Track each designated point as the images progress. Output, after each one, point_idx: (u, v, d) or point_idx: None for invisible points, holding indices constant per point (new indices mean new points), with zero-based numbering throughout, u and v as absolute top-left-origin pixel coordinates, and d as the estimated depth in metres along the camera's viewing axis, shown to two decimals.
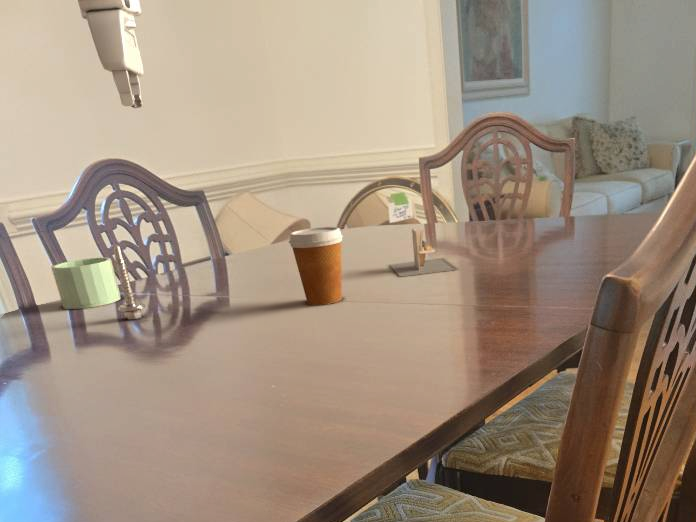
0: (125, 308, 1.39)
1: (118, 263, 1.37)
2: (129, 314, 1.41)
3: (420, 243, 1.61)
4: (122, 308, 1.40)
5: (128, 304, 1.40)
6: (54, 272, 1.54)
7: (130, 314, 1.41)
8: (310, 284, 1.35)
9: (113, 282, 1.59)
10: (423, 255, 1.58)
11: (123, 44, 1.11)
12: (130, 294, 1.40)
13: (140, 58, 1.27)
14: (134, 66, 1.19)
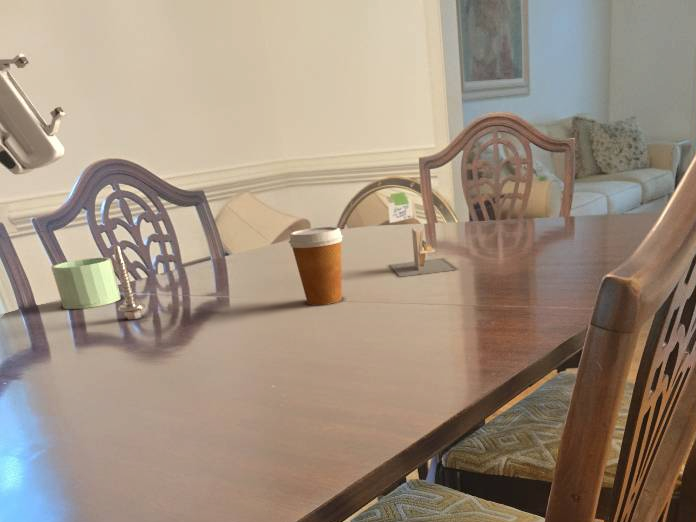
0: (125, 308, 1.39)
1: (118, 263, 1.37)
2: (129, 314, 1.41)
3: (420, 243, 1.61)
4: (122, 308, 1.40)
5: (128, 304, 1.40)
6: (54, 272, 1.54)
7: (130, 314, 1.41)
8: (310, 284, 1.35)
9: (113, 282, 1.59)
10: (423, 255, 1.58)
11: (47, 161, 1.42)
12: (130, 294, 1.40)
13: None
14: (24, 112, 1.38)
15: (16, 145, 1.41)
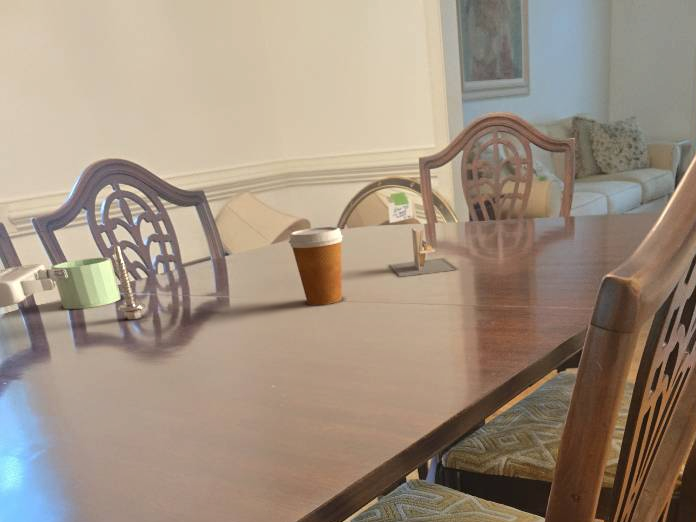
0: (125, 308, 1.39)
1: (118, 263, 1.37)
2: (129, 314, 1.41)
3: (420, 243, 1.61)
4: (122, 308, 1.40)
5: (128, 304, 1.40)
6: None
7: (130, 314, 1.41)
8: (310, 284, 1.35)
9: (113, 282, 1.59)
10: (423, 255, 1.58)
11: None
12: (130, 294, 1.40)
13: (29, 265, 1.44)
14: (23, 273, 1.35)
15: None
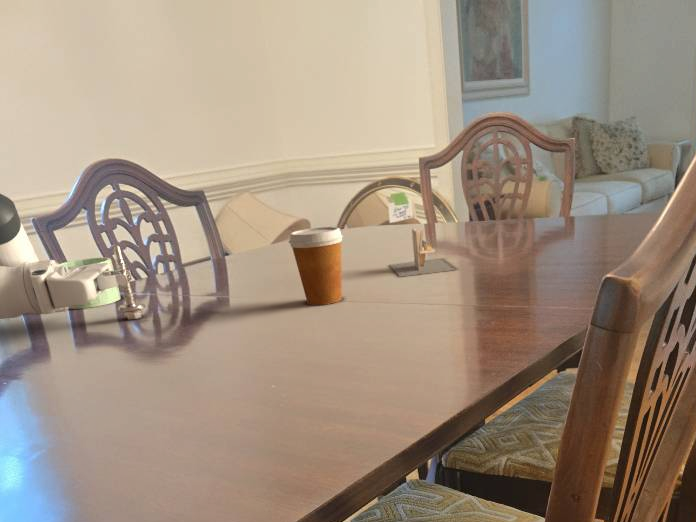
0: (125, 308, 1.39)
1: (118, 263, 1.37)
2: (129, 314, 1.41)
3: (420, 243, 1.61)
4: (122, 308, 1.40)
5: (128, 304, 1.40)
6: None
7: (130, 314, 1.41)
8: (310, 284, 1.35)
9: None
10: (423, 255, 1.58)
11: (70, 280, 1.29)
12: (130, 294, 1.40)
13: (95, 264, 1.45)
14: (94, 272, 1.36)
15: (59, 277, 1.33)
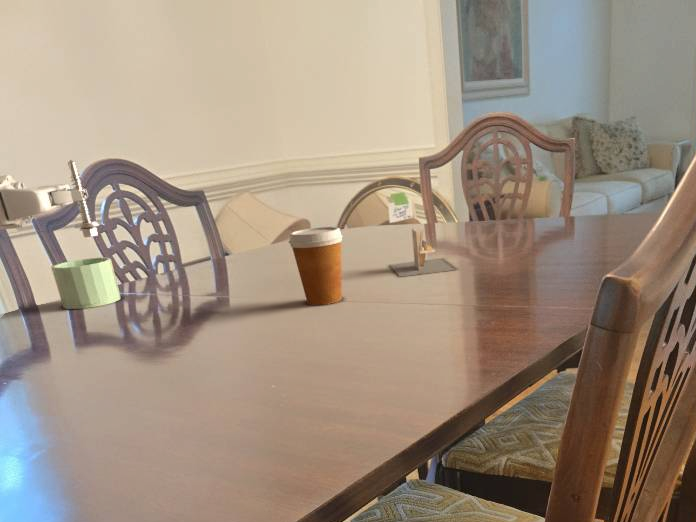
0: (81, 225, 1.42)
1: (74, 179, 1.40)
2: (85, 231, 1.44)
3: (420, 243, 1.61)
4: (78, 225, 1.42)
5: (84, 221, 1.43)
6: (54, 272, 1.54)
7: (86, 231, 1.44)
8: (310, 284, 1.35)
9: (113, 282, 1.59)
10: (423, 255, 1.58)
11: (23, 190, 1.32)
12: (86, 211, 1.42)
13: None
14: (49, 187, 1.39)
15: None
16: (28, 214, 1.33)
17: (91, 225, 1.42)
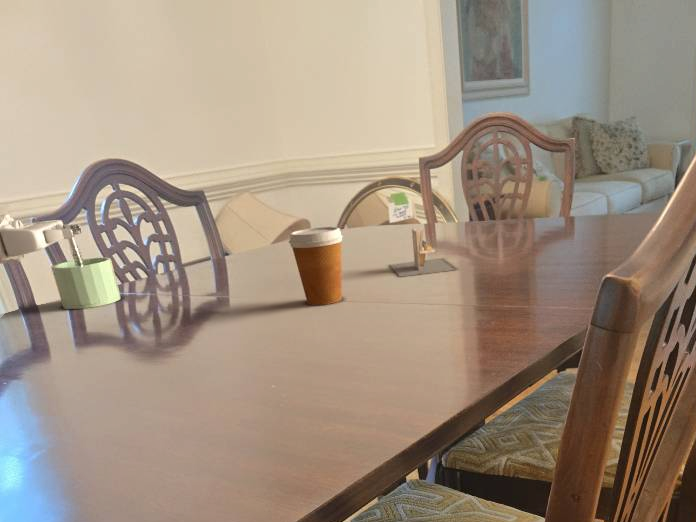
0: None
1: (74, 251, 1.55)
2: None
3: (420, 243, 1.61)
4: None
5: None
6: (54, 272, 1.54)
7: None
8: (310, 284, 1.35)
9: (113, 282, 1.59)
10: (423, 255, 1.58)
11: (21, 230, 1.44)
12: None
13: (48, 221, 1.60)
14: (44, 225, 1.52)
15: (12, 228, 1.48)
16: (25, 251, 1.46)
17: None
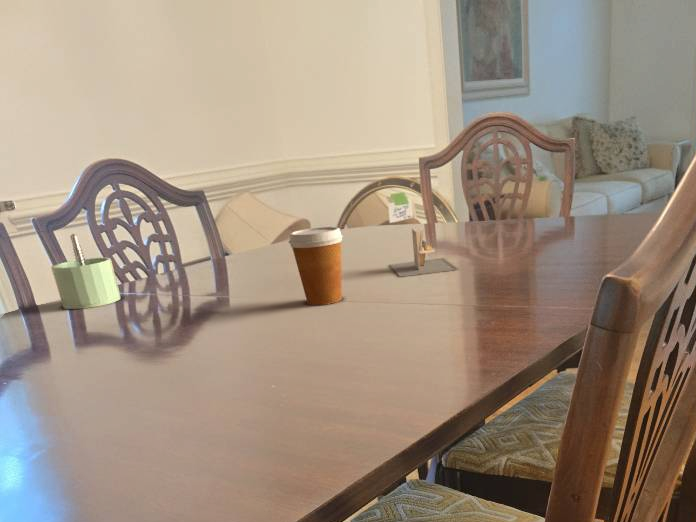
0: None
1: (76, 250, 1.55)
2: None
3: (420, 243, 1.61)
4: None
5: None
6: (54, 272, 1.54)
7: None
8: (310, 284, 1.35)
9: (113, 282, 1.59)
10: (423, 255, 1.58)
11: None
12: None
13: None
14: None
15: None
16: None
17: None
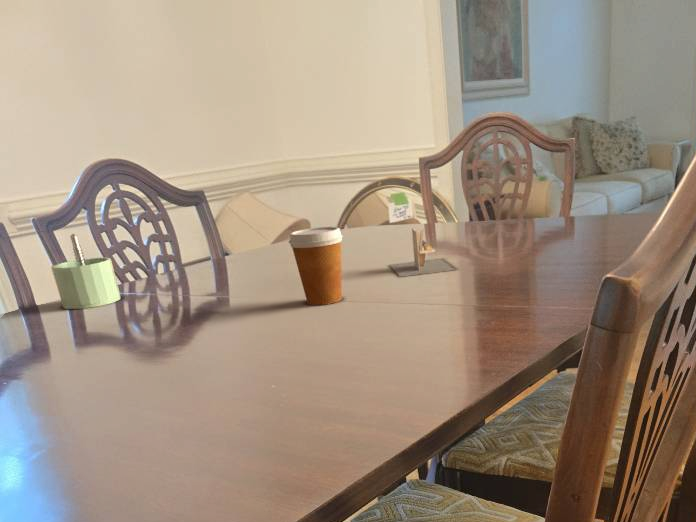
0: None
1: (76, 250, 1.55)
2: None
3: (420, 243, 1.61)
4: None
5: None
6: (54, 272, 1.54)
7: None
8: (310, 284, 1.35)
9: (113, 282, 1.59)
10: (423, 255, 1.58)
11: None
12: None
13: None
14: None
15: None
16: None
17: None
